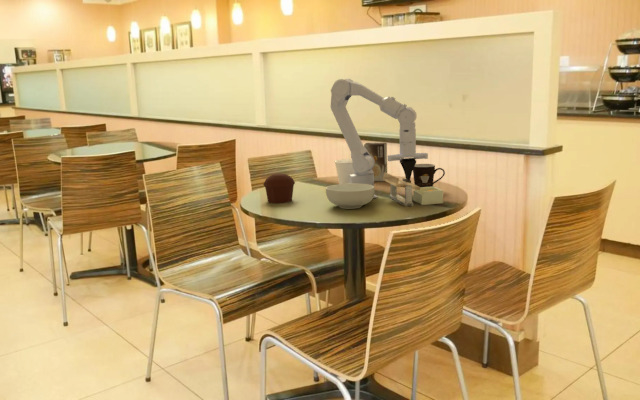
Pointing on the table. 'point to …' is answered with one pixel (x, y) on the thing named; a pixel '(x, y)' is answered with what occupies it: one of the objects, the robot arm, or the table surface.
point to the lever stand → (404, 201)
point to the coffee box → (378, 158)
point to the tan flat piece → (398, 181)
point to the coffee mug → (425, 174)
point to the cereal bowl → (350, 195)
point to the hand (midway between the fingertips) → (408, 179)
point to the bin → (428, 195)
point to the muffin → (279, 188)
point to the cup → (344, 170)
